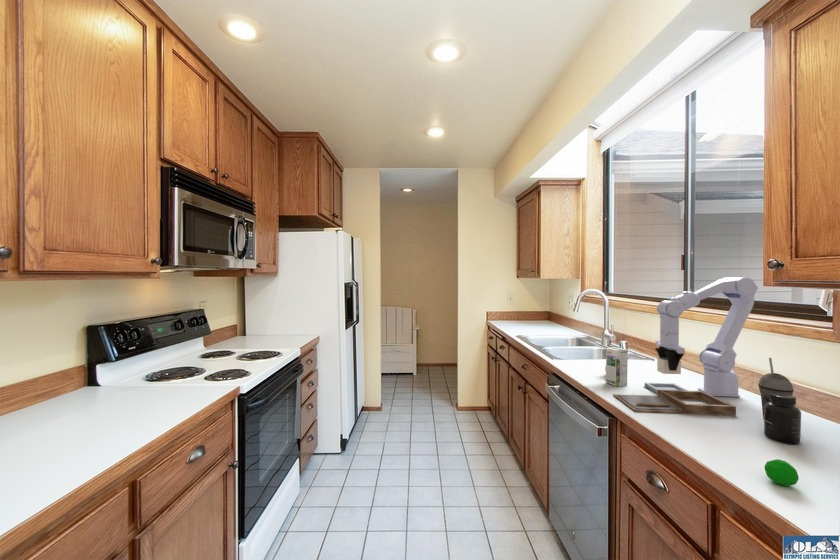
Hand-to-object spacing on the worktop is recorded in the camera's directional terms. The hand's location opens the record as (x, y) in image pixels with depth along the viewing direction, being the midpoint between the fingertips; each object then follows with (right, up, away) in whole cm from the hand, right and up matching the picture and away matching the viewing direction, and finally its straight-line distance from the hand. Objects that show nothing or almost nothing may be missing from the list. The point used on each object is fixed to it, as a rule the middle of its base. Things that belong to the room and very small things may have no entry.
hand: (669, 368), depth 132 cm
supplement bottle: (+3, -10, -38) cm, 39 cm away
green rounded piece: (-18, -10, -58) cm, 61 cm away
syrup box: (-14, -9, +10) cm, 20 cm away
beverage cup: (+9, -10, -30) cm, 33 cm away
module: (0, -1, 0) cm, 1 cm away
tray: (0, -9, +1) cm, 9 cm away
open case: (-9, -9, -13) cm, 18 cm away
